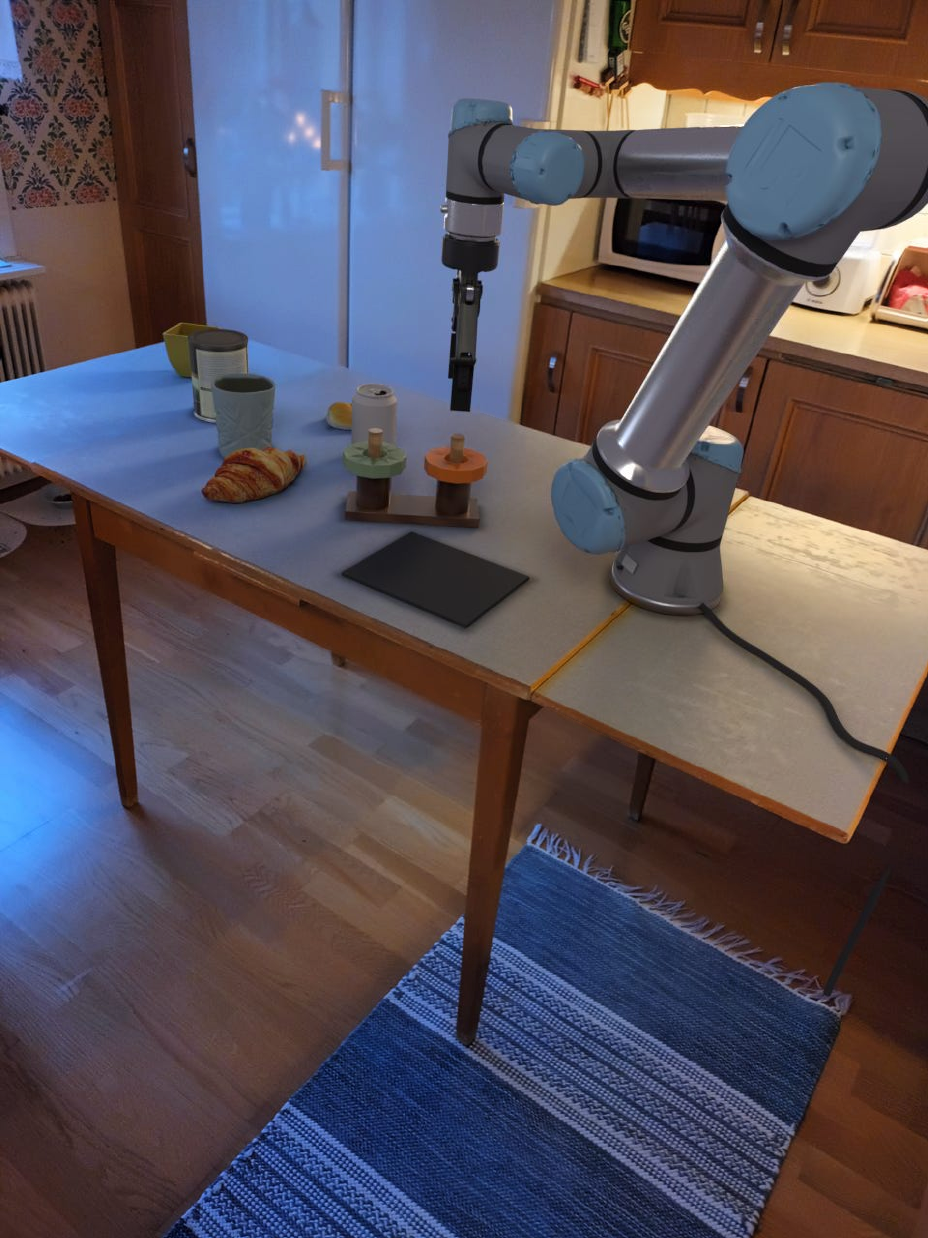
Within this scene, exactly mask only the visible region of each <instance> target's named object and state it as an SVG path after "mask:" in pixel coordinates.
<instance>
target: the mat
mask: <svg viewBox="0 0 928 1238" xmlns="http://www.w3.org/2000/svg"><path fill="white" fill-rule="evenodd" d="M341 576H342V577H344V578H347V579H348V580H351V581H353V582H356V583H359V584H361V585H363V586H366V587H368V588H370V589H372V590H376V591H377V592H380V593H382V594H384V595H387V596H389V597H392V598H394V599H396V600H398V601H401V602H404V603H405V604H408V605H410V606H413V607H414V608H417V609H420V610H421V611H424V612H426V613H429V614H431V615H433V616H436V617H438V618H441V619H444V620H446V621H448V622H450V623H453V624H455V625H457V626H459V627H462V628H464V629H467V628H468V627H470V626H471V625H472V624H473V623H475V622H476V621H478V619H480V618H481V617H482V616H484V615H485V614H487V613H488V612H489V611H490V610H491V609H493V608H494V607H495V606H497V605H498V604H499V603H500V602H502V601H503V600H504V599H506V598H507V597H509V596H510V595H511V594H512V593H514V592H515V591H516V590H517V589H519V588H520V587H521V586H523V585H524V584H525V583H527V582H528V581H529V580H530V576H528V575H526V574H523V573H521V572H518V571H516V570H513V569H510V568H508V567H505V566H503V565H500V564H497V563H495V562H492V561H489V560H487V559H486V558H485V559H484V558H482V557H480V556H477V555H474V554H471V553H469V552H466V551H464V550H461V549H459V548H457V547H453V546H451V545H448V544H446V543H443V542H441V541H437V540H435V539H432V538H430V537H428V536H425V535H421V534H419V533H417V532H414V531H409V532H408V533H406V534H405V535H403V536H400V538H397V539H395V540H394V541H392V542H391V543H389V544H387V545H385V546H384V547H382V548H379V550H377V551H375V552H374V553H372V554H370V555H369V556H367V557H365V558H363V559H362V560H360V561H358V562H356V563H354V564H353V565H351V566H350V567H348V568H346V569H345V570H342V571H341Z"/></svg>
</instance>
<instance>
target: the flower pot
mask: <svg viewBox="0 0 928 1238" xmlns="http://www.w3.org/2000/svg"><path fill="white" fill-rule="evenodd" d="M205 329H222V327H221V326H213V325H212V326H211V325H203V324H195V323H188V322H179V323H177V324H176V325H173V326H172V327H171V328H169V329H168V330H166V331H164V332H163V333H162V338H163V341H164V347H165V350H166V355H167V358H168V361H169V362H170V365H171V367H172V368H173V369H174V371H175V372H176V374H177V375H178V376H179V377H183V378H191V379H192V374H191V362H190V351H189V342H188V335H189V334H191V333H193V332H195V331H199V330H205Z"/></svg>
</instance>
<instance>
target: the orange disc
mask: <svg viewBox="0 0 928 1238" xmlns="http://www.w3.org/2000/svg"><path fill="white" fill-rule="evenodd" d="M449 457H450V446H439V447H436V448H433V449H430V450H428V451H427V453H426V454H425V456H424V461H423V464H424V465H423V469H424V471H425V473H426V475H427V476H428V477H431V478H433V479H434V480H436V481H437V480H439V481H444V482H450V483H455V484H458V483H471V484H472V483H475V482H477V481H481V480H483V479H484V478H485V476H486V474H487V469H488V460H487V458H486V457H485V456H484V454H483V453H481V452H479V451H476V450H474V449H472V448H467V447H464V452H463V463H451V462H449Z"/></svg>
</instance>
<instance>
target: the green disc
mask: <svg viewBox="0 0 928 1238" xmlns="http://www.w3.org/2000/svg"><path fill="white" fill-rule="evenodd" d="M342 465H343V467H344V469H345V471H347V472H349V473H351V474H353V475H355V476H356V477H357V476H362V477H367V478H389V477H395V476H398V475H401V474H402V473H403V472H404V471H405V469H406V468H407V454H406V452H405V451H404V448H402V447H399V446H397V445H396V444H395V445H393V444H389V443H383V442H382V458H370V457H368V442H359V443H355V444H352V445H351V444H349V445H347V446H346V447H345V448H344V450H343V451H342Z"/></svg>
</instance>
